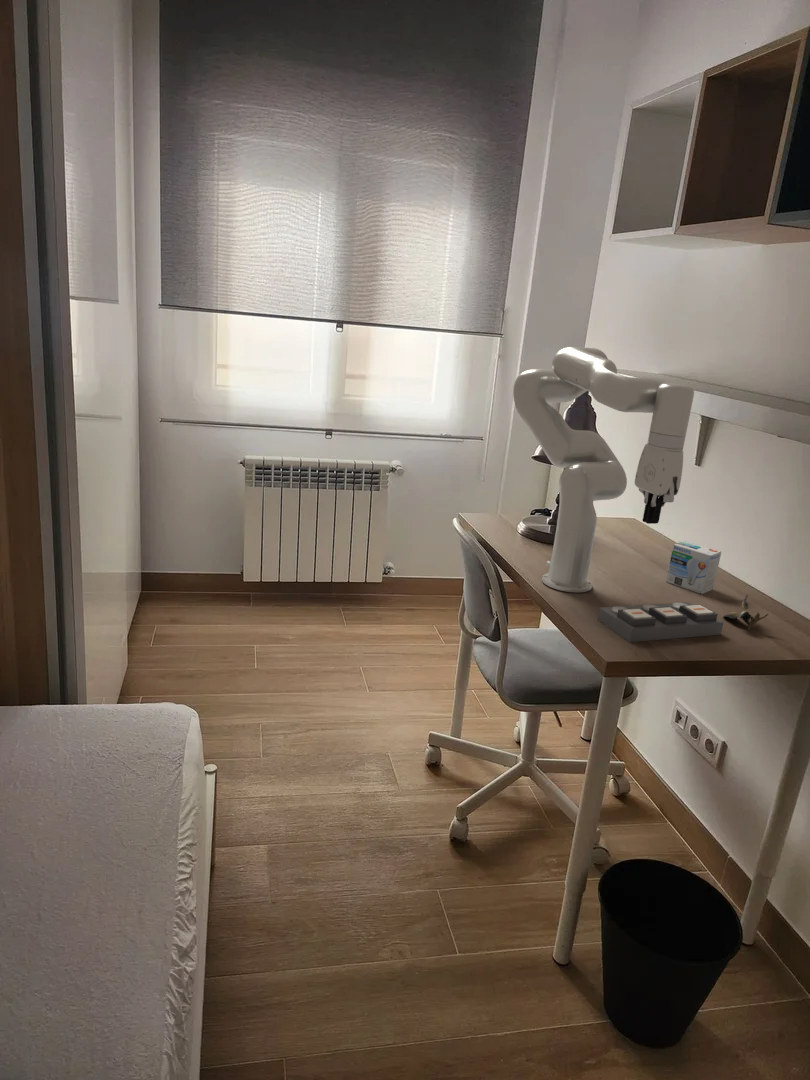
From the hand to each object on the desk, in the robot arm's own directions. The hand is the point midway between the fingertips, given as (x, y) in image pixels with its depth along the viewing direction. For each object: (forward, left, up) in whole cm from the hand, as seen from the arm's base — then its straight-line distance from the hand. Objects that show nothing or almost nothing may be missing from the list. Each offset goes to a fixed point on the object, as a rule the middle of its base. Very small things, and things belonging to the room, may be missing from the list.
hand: (650, 522), depth 174 cm
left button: (+8, -5, -20) cm, 22 cm away
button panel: (+6, +3, -23) cm, 24 cm away
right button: (+8, +12, -20) cm, 24 cm away
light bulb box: (-17, +31, -23) cm, 42 cm away
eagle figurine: (+7, +26, -23) cm, 36 cm away
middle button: (+8, +3, -20) cm, 22 cm away
